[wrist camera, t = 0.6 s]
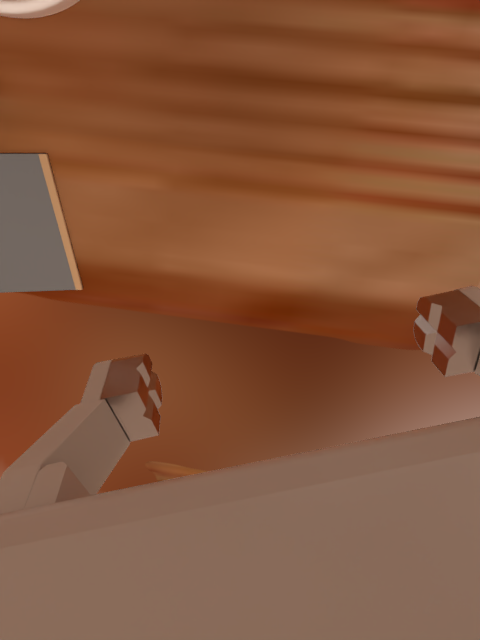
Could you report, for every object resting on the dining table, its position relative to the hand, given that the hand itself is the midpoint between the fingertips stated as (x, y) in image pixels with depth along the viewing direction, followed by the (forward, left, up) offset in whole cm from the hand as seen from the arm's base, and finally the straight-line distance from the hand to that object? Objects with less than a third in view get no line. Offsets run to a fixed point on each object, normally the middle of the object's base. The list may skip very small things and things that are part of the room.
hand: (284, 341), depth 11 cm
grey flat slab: (+12, -30, -45) cm, 55 cm away
